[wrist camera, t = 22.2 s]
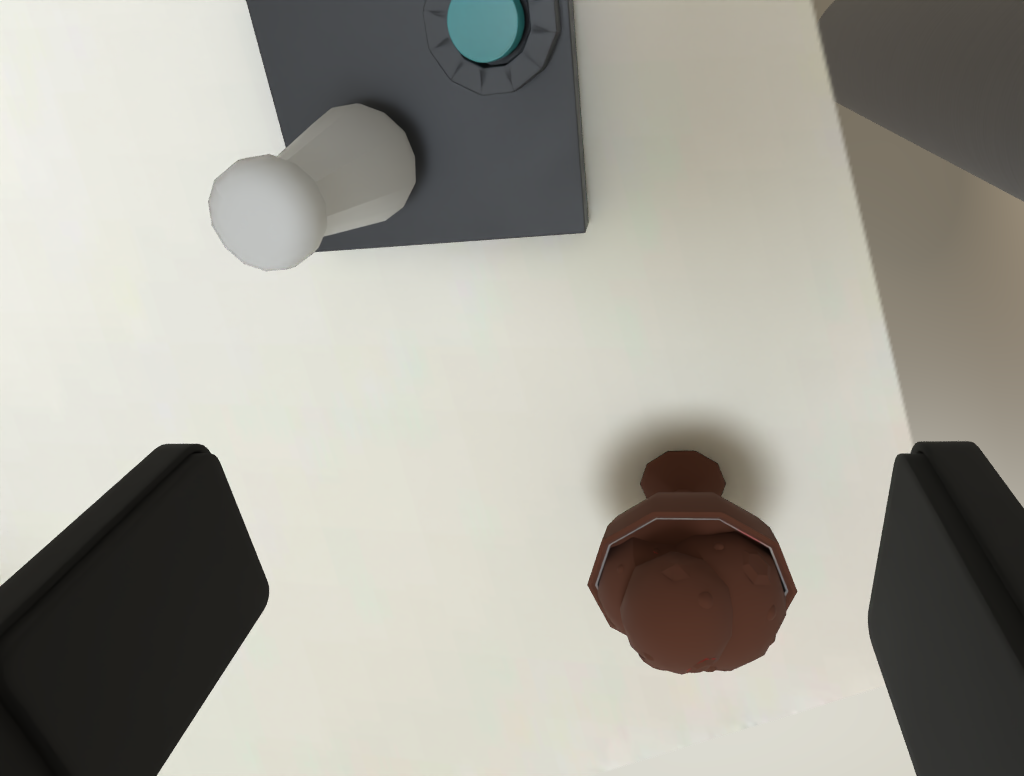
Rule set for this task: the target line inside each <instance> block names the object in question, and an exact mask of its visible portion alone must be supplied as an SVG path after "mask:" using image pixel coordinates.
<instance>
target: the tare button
mask: <svg viewBox="0 0 1024 776" xmlns="http://www.w3.org/2000/svg"><path fill="white" fill-rule="evenodd" d="M447 27H448V32H449V35H450V38H451V40H452V42H453V44H454V46H455V47H456V48H457V50H458V51H459V52H460V53H461V54H462V55H463V56H465V57H466V58H468V59H470V60H472V61H475V62H480V63H488V62H492V61H495V60H498V59H501V58H504V57H506V56H507V55H509V54H510V53H511V52H512V51H513V50H514V49H515V48H516V47H517V46H518V44H519V42H520V40H521V38H522V35H523V32H524V27H525V16H524V10H523V7H522V4H521V2H520V0H451V2H450V5H449V8H448V13H447Z"/></svg>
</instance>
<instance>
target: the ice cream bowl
mask: <svg viewBox="0 0 1024 776" xmlns="http://www.w3.org/2000/svg"><path fill="white" fill-rule="evenodd" d="M640 485H641V487H642V489H643V491H644V494H645V496H646V498H647V499H646V500H644V501H642V502H641V503H639V504H637V505H636V506H634V507H632V508H630V509H629V510H627V511H625V512H624V513H622V514H620V515H618V516H617V517H616V518H615V519H614V520H613V521H612V522H611V523H610V524H609V525H608V526H607V529H606V531H605V534H604V537H603V539H602V542H601V545H600V548H599V551H598V554H597V557H596V560H595V563H594V566H593V569H592V572H591V575H590V578H589V581H588V584H587V585H588V587H589V589H590V591H591V593H592V594H593V596H594V598H595V600H596V602H597V603H598V605H599V607H600V609H601V611H602V613H603V614H604V616H605V618H606V620H607V622H608V624H609V625H610V627H612V628H614V629H616V630H617V631H619V632H621V633H623V634H625V635H627V637H628V639H629V642H630V645H631V647H632V648H633V649H634V650H635V651H636V652H638V654H639V656H640V657H641V659H642V660H643V661H644V662H645V663H647V664H648V665H650V666H651V667H653V668H656V669H659V670H665V671H670V672H674V673H678V674H685V673H698V672H702V671H706V672H713V671H715V670H720V671H732V670H734V669H736V668H738V667H740V666H743V665H745V664H747V663H749V662H752V661H754V660H756V659H758V658H759V657H761V656H763V655H765V653H766V651H767V649H768V647H769V646H770V645H771V644H772V643H773V642H775V637H776V633H777V632H778V630H779V628H780V626H781V624H782V622H783V620H784V618H785V616H786V611H787V609H788V607H789V605H790V604H791V602H792V600H793V598H794V596H795V595H796V593H797V589H796V587H795V584H794V582H793V579H792V577H791V574H790V571H789V569H788V566H787V564H786V561H785V558H784V556H783V553H782V551H781V548H780V545H779V543H778V541H777V540H776V538H775V536H774V534H773V532H772V531H771V529H770V527H769V526H767V525H766V524H765V523H764V522H763V521H761V520H760V519H759V518H758V517H756V516H754V515H753V514H751V513H749V512H747V511H745V510H744V509H742V508H740V507H738V506H736V505H735V504H733V503H731V502H729V501H728V500H726V499H724V498H722V497H721V495H722V492H723V490H724V488H725V485H726V483H725V480H724V478H723V476H722V473H721V471H720V468H719V466H718V463H716V462H714V461H712V460H710V459H709V458H707V457H705V456H703V455H702V454H700V453H698V452H696V451H668V452H666V453H664V454H663V455H661V456H659V457H658V458H656V459H655V460H653V461H651V462H650V463H648V464H647V466H646V468H645V471H644V474H643V477H642V480H641V483H640Z"/></svg>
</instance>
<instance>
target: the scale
mask: <svg viewBox="0 0 1024 776" xmlns="http://www.w3.org/2000/svg"><path fill="white" fill-rule="evenodd" d="M246 2H247V5H248V9H249V13H250V16H251V20H252V24H253V28H254V31H255V35H256V39H257V42H258V46H259V50H260V53H261V57H262V61H263V65H264V68H265V72H266V76H267V79H268V83H269V87H270V90H271V94H272V98H273V102H274V105H275V109H276V113H277V116H278V120H279V124H280V127H281V131H282V135H283V139H284V142H285V146H286V148H287V147H288V146H289V145H290V144H291V143H292V142H293V141H294V140H295V139H296V138H298V137H299V136H300V135H301V134H302V133H303V132H304V131H305V130H306V129H307V128H309V127H310V126H311V125H312V124H313V123H314V122H315V121H317V120H318V119H319V118H320V117H321V116H322V115H324V114H325V113H326V112H327V111H328V110H330V109H331V108H333V107H339V106H345V105H350V104H356V103H357V104H362V105H365V106H368V107H370V108H373V109H376V110H378V111H381V112H384V113H385V114H386V115H387V116H389V117H390V118H391V119H392V120H393V121H394V122H395V123H396V124H397V125H398V126H399V127H400V128H401V129H403V130H404V131H405V134H406V136H407V138H408V141H409V143H410V146H411V148H412V151H413V153H414V155H415V173H416V183H415V185H414V187H413V189H412V191H411V193H410V195H409V197H408V199H407V201H406V203H405V205H404V207H403V208H401V209H400V210H399V211H397V212H396V213H395V214H394V215H392V216H391V217H390V218H388V219H387V220H386V221H382V222H378V223H374V224H371V225H367V226H363V227H359V228H355V229H351V230H347V231H343V232H340V233H336V234H332V235H328V236H324V237H323V239H322V241H321V243H320V246H319V248H318V249H317V250H316V251H315V252H323V251H337V250H352V249H366V248H380V247H394V246H408V245H422V244H436V243H450V242H464V241H478V240H492V239H506V238H520V237H534V236H548V235H562V234H576V233H585V232H586V229H587V226H588V208H587V194H586V180H585V166H584V152H583V138H582V124H581V110H580V95H579V81H578V67H577V53H576V39H575V25H574V11H573V0H520V2H521V4H522V7H523V10H524V16H525V27H524V32H523V35H522V38H521V40H520V42H519V44H518V46H517V47H516V48H515V49H514V50H513V51H512V52H511V53H510V54H509V55H507V56H506V57H504V58H501V59H498V60H495V61H492V62H488V63H480V62H475V61H472V60H470V59H468V58H466V57H465V56H463V55H462V54H461V53H460V52H459V51H458V50H457V48H456V47H455V46H454V44H453V42H452V40H451V38H450V35H449V32H448V27H447V13H448V8H449V5H450V2H451V0H246Z"/></svg>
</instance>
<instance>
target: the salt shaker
mask: <svg viewBox="0 0 1024 776" xmlns="http://www.w3.org/2000/svg"><path fill="white" fill-rule="evenodd" d="M415 183H416V173H415V155H414V153H413V151H412V148H411V146H410V143H409V141H408V138H407V136H406V134H405V131H404V130H403V129H401V128H400V127H399V126H398V125H397V124H396V123H395V122H394V121H393V120H392V119H391V118H390V117H389V116H387V115H386V114H385V113H384V112H381V111H378V110H376V109H373V108H370V107H368V106H365V105H362V104H357V103H356V104H350V105H345V106H339V107H333V108H331V109H330V110H328V111H327V112H326V113H325V114H324V115H322V116H321V117H320V118H319V119H318V120H317V121H315V122H314V123H313V124H312V125H311V126H310V127H309V128H307V129H306V130H305V131H304V132H303V133H302V134H301V135H300V136H299V137H298V138H296V139H295V140H294V141H293V142H292V143H291V144H290V145H289V146H288V147H287V148H285V149H284V150H283V151H282V152H281V153H280V154H279V155H278V156H277V157H276V156H273V155H270V154H268V155H262V156H256V157H249V158H245V159H241V160H238V161H236V162H235V163H234V164H233V165H232V166H230V167H229V168H228V169H227V170H226V171H225V172H223V173H222V174H221V175H220V176H219V177H217V178H216V179H215V180H214V183H213V187H212V190H211V194H210V197H209V201H208V203H209V210H210V216H211V223H212V226H213V228H214V230H215V231H216V233H217V235H218V236H219V238H220V240H221V242H222V243H223V245H224V247H225V248H226V249H228V250H229V251H230V252H231V253H232V254H233V255H234V256H236V257H237V258H238V259H239V260H240V261H241V262H243V263H244V264H246V265H249V266H252V267H255V268H258V269H261V270H264V271H273V270H285V269H289V268H292V267H296V266H297V265H298V264H300V263H301V262H302V261H304V260H305V259H306V258H308V257H309V256H310V255H312V254H313V253H314V252H315V251H316V250H317V249H318V248H319V246H320V243H321V241H322V239H323V237H324V236H328V235H332V234H336V233H340V232H343V231H347V230H351V229H355V228H359V227H363V226H367V225H371V224H374V223H378V222H382V221H386V220H387V219H388V218H390V217H391V216H392V215H394V214H395V213H396V212H397V211H399V210H400V209H401V208H403V207H404V205H405V203H406V201H407V199H408V197H409V195H410V193H411V191H412V189H413V187H414V185H415Z"/></svg>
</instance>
